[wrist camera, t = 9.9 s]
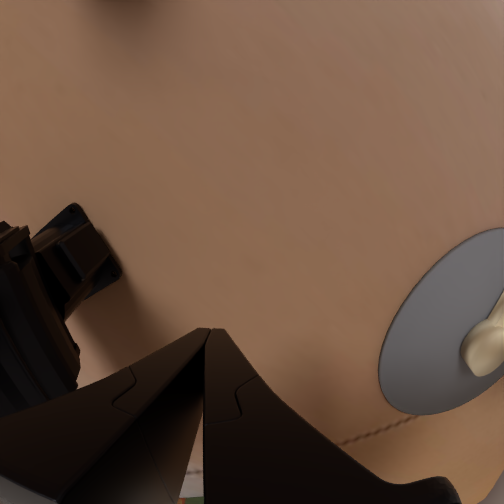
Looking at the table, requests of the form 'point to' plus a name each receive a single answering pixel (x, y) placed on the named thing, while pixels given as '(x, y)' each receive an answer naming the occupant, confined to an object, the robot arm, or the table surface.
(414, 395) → the dial plate
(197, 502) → the carton
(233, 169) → the table surface
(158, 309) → the table surface
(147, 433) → the robot arm
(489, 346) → the crank handle
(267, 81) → the table surface
